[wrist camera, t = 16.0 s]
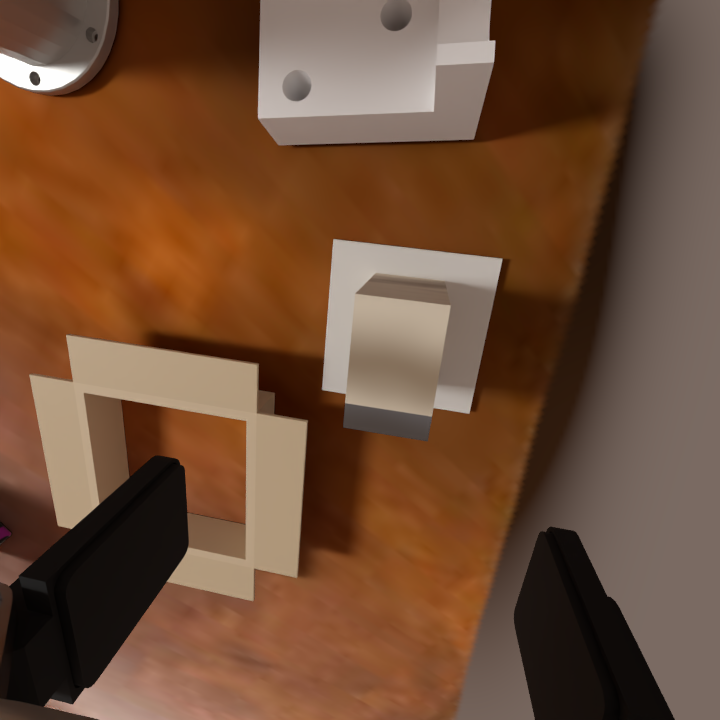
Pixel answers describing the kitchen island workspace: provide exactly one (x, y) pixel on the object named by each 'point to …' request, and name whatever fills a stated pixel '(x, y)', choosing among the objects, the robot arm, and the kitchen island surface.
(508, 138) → the kitchen island surface
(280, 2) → the bracket
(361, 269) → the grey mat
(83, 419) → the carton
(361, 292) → the birch box
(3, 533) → the candy bar box
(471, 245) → the kitchen island surface
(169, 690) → the kitchen island surface
